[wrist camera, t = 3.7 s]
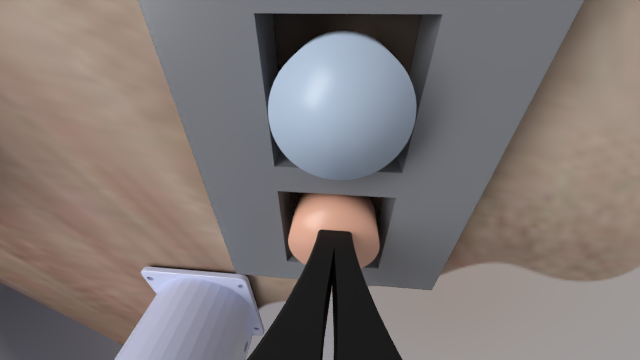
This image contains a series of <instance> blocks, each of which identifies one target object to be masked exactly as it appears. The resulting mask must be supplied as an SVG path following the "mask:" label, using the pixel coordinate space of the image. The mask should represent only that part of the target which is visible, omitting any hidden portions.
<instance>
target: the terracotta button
mask: <svg viewBox="0 0 640 360" xmlns="http://www.w3.org/2000/svg"><path fill="white" fill-rule="evenodd" d="M321 229H322V230H336V231H350V232H351V233H352V238H353V243H354V248H355V252H356V255H357V258H358V262H359V265H360V268H363V267H365V266H367V265H368V264H370V263H371V262H372V261H373V260H374V259H375V258H376V256H377V254H378V252H379V247H380V245H379V236H378V229H377V222H376V215H375V208H374V205H373V203H372V201H371V200H370V198H369V197H368V196H354V195H337V194H320V193H304V194H303V195H302V196H301V197H300V198H299V200H298V202H297V205H296V209H295V213H294V217H293V221H292V225H291V229H290V233H289V238H288V244H289V248H290V250H291V252H292V254H293V255H294V256H295V257H296V258H297V259H298V260H299V261H300V262H301V263H303V264H305V265H306V263H307V261H308V259H309V257H310V254H311V252H312V249H313V247H314V244H315V241H316V238H317V234H318V231H319V230H321Z"/></svg>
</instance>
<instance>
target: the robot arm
mask: <svg viewBox="0 0 640 360" xmlns="http://www.w3.org/2000/svg"><path fill="white" fill-rule="evenodd" d="M141 274H142V275H143V277H144V278H145V279H146V281H147V282H148V283H149V285H150V286H151V287H152V288H153V290H154V291H155V292H156V294H157V295H156V296H155V298H154V300H153V301H152V303H151V304H150V306H149V307H148V309H147V310H146V312H145V313H144V315H143V316H142V318H141V320H140V321H139V323H138V324H137V326H136V327H135V329H134V330H133V332H132V333H131V335H130V336H129V338H128V339H127V341H126V343H125V344H124V346H123V347H122V349H121V350H120V352H119V353H118V355H117V356H116V358H115V359H114V360H246V356H247V353H248V349H249V346H250V342H251V339H252V335H263V333H264V327H263V324H262V321H261V318H260V314H259V311H258V308H257V305H256V302H255V299H254V295H253V292H252V289H251V286H250V283H249V279H248V278H247V277H246V276H245V275H242V274H231V273H219V272H207V271H195V270H183V269H171V268H159V267H144V268H143V270H142V271H141ZM331 287H332V295H333V323H334V324H333V325H334V360H402V358H401V356H400V355H399V353H398V351H397V349H396V347H395V345H394V343H393V341H392V339H391V338H390V336H389V334H388V331H387V329H386V327H385V325H384V323H383V321H382V319H381V317H380V315H379V313H378V311H377V308H376V306H375V304H374V302H373V299H372V297H371V295H370V292H369V289H368V287H367V284H366V282H365V279H364V276H363V274H362V271H361V268H360V265H359V262H358V258H357V255H356V252H355V248H354V243H353V238H352V233H351V232H350V231H336V230H322V229H321V230H319V231H318V234H317V238H316V241H315V244H314V247H313V249H312V252H311V254H310V257H309V259H308V261H307V263H306V265H305V268H304V270H303V272H302V274H301V276H300V278H299V280H298V281H297V283H296V285H295V287H294V289H293V291H292V293H291V294H290V296H289V298H288V300H287V301H286V303H285V305H284V306H283V308H282V310H281V311H280V313H279V314H278V316H277V317H276V319H275V321H274V322H273V324H272V325H271V327H270V328H269V330H268V331H267V333H266V334H265V336H264V337H263V338H262V340H261V341H260V343H259V344H258V346H257V347H256V348H255V350H254V351H253V353H252V354H251V355H250V356H249V358H248V359H247V360H322V357H323V346H324V337H325V329H326V323H327V315H328V309H329V301H330V295H331Z"/></svg>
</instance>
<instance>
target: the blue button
mask: <svg viewBox="0 0 640 360" xmlns="http://www.w3.org/2000/svg"><path fill="white" fill-rule="evenodd" d="M415 118H416V96H415V92H414V88H413V84H412V82H411V80H410V77H409V75H408V74H407V72H406V70H405V69H404V67H403V66H402V65H401V64H400V62H399V61H398V60H397V59H396V58H395V57H394V56H393V55H392V53H391V52H390V51H389V50H388V49H387V48H386V47H385V46H384V45H383V44H382V43H380V42H379V41H378V40H376V39H375V38H373V37H372V36H370V35H367V34H365V33H363V32H359V31H355V30H334V31H330V32H326V33H324V34H321V35H318V36H317V37H315V38H313V39H311V40H310V41H309V42H307V43H306V44H305V45H304V46H303V47H302V48H301V49H300V50H299V51H298V52H296V53H295V54H294V55H293V56H292V57H291V58H290V59H289V60H288V62H287V63H286V64H285V65H284V66H283V67H282V69H281V70H280V72H279V73H278V75H277V77H276V79H275V81H274V83H273V86H272V88H271V91H270V96H269V102H268V119H269V124H270V128H271V131H272V134H273V137H274V139H275V141H276V143H277V145H278V146H279V148H280V149H281V151H282V152H283V153H284V155H285V156H286V157H287V158H288V159H289V160H290V161H291V162H292V163H294V164H295V165H296V166H297V167H299V168H300V169H302V170H304V171H305V172H308V173H310V174H312V175H315V176H318V177H321V178H325V179H331V180H351V179H357V178H361V177H364V176H367V175H370V174H372V173H374V172H377V171H378V170H380V169H382V168H383V167H385V166H386V165H387V164H389V163H390V162H391V161H392V160H393V159H394V158H395V157H397V155H398V154H399V153H400V152H401V151H402V149H403V148H404V146H405V145H406V143H407V142H408V140H409V138H410V135H411V133H412V130H413V127H414V124H415Z"/></svg>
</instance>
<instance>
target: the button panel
mask: <svg viewBox="0 0 640 360" xmlns="http://www.w3.org/2000/svg"><path fill="white" fill-rule="evenodd" d="M583 1H584V0H138V2H139V4H140V7H141V10H142V13H143V16H144V18H145V21H146V24H147V27H148V30H149V32H150V35H151V38H152V41H153V43H154V46H155V49H156V52H157V55H158V57H159V60H160V63H161V66H162V69H163V71H164V74H165V77H166V80H167V82H168V85H169V88H170V91H171V94H172V96H173V99H174V102H175V105H176V107H177V110H178V113H179V116H180V119H181V121H182V124H183V127H184V130H185V133H186V135H187V138H188V141H189V144H190V146H191V149H192V152H193V155H194V158H195V160H196V163H197V166H198V169H199V171H200V174H201V177H202V180H203V183H204V185H205V188H206V191H207V194H208V197H209V199H210V202H211V205H212V208H213V210H214V213H215V216H216V219H217V222H218V224H219V227H220V230H221V233H222V235H223V238H224V241H225V244H226V247H227V249H228V252H229V255H230V258H231V261H232V263H233V266H234V269H235V272H236V274H244V275H256V276H268V277H280V278H292V279H299V278H300V276H301V274H302V272H303V270H304V268H305V264H303V263H301V262H300V261H299V260H298V259H297V258H296V257H295V256H294V255H293V254H292V252H291V250H290V248H289V244H288V238H289V233H290V229H291V225H292V211H291V200H290V192H303V193H320V194H337V195H354V196H371V197H383V201H382V206H381V211H380V216H379V220H378V225H377V229H378V236H379V245H380V247H379V252H378V254H377V256H376V258H375V259H374V260H373V261H372V262H371V263H370V264H368V265H367V266H365V267H363V268H361V271H362V274H363V276H364V279H365V282H366V284H367V285H375V286H388V287H399V288H411V289H423V290H432V288H433V286H434V285H435V283H436V281H437V279H438V277H439V275H440V273H441V271H442V269H443V268H444V266H445V264H446V262H447V260H448V258H449V256H450V254H451V252H452V250H453V249H454V247H455V245H456V243H457V241H458V239H459V237H460V235H461V233H462V231H463V229H464V228H465V226H466V224H467V222H468V220H469V218H470V216H471V214H472V212H473V210H474V209H475V207H476V205H477V203H478V201H479V199H480V197H481V195H482V193H483V191H484V190H485V188H486V186H487V184H488V182H489V180H490V178H491V176H492V174H493V172H494V171H495V169H496V167H497V165H498V163H499V161H500V159H501V157H502V155H503V153H504V152H505V150H506V148H507V146H508V144H509V142H510V140H511V138H512V136H513V134H514V133H515V131H516V129H517V127H518V125H519V123H520V121H521V119H522V117H523V115H524V114H525V112H526V110H527V108H528V106H529V104H530V102H531V100H532V98H533V96H534V94H535V93H536V91H537V89H538V87H539V85H540V83H541V81H542V79H543V77H544V75H545V74H546V72H547V70H548V68H549V66H550V64H551V62H552V60H553V58H554V56H555V55H556V53H557V51H558V49H559V47H560V45H561V43H562V41H563V39H564V37H565V36H566V34H567V32H568V30H569V28H570V26H571V24H572V22H573V20H574V18H575V17H576V15H577V13H578V11H579V9H580V7H581V5H582V3H583ZM273 13H298V14H422V15H421V20H420V25H419V30H418V34H417V39H416V44H415V49H414V53H413V58H412V63H411V68H410V73H409V77H410V80H411V82H412V84H413V88H414V92H415V96H416V118H415V124H414V127H413V130H412V133H411V135H410V138H409V140H408V142H407V143H406V145H405V146H404V148H403V149H402V151H401V152H400V153H399V154H398V155H397V157H395V158H394V159H393V160H392V161H391V162H390V163H389V164H387V165H386V166H385V167H383V168H382V169H380V170H378V171H377V172H374V173H372V174H370V175H367V176H364V177H361V178H357V179H351V180H331V179H325V178H321V177H318V176H315V175H312V174H310V173H308V172H305V171H304V170H302V169H300V168H299V167H297V166H296V165H295V164H294V163H292V162H291V161H290V160H289V159H288V158H287V157H286V156H285V155H284V153H283V152H282V151H281V149H280V148H279V146H278V145H277V143H276V141H275V139H274V137H273V134H272V131H271V128H270V124H269V119H268V102H269V96H270V91H271V88H272V86H273V83H274V81H275V79H276V77H277V75H278V73H279V72H278V62H277V51H276V40H275V30H274V19H273Z"/></svg>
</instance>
